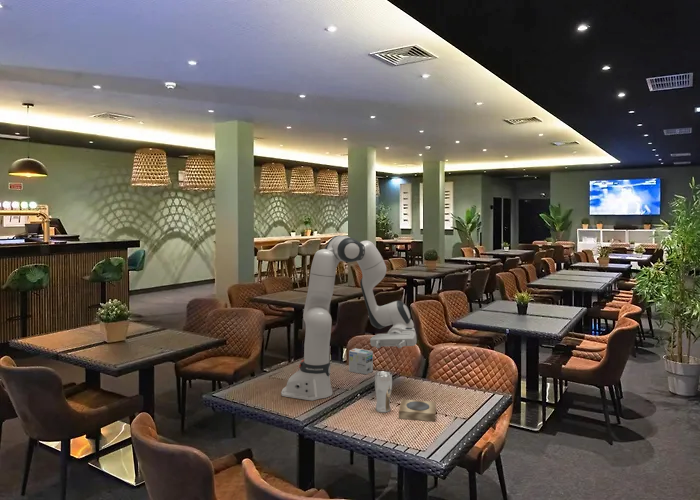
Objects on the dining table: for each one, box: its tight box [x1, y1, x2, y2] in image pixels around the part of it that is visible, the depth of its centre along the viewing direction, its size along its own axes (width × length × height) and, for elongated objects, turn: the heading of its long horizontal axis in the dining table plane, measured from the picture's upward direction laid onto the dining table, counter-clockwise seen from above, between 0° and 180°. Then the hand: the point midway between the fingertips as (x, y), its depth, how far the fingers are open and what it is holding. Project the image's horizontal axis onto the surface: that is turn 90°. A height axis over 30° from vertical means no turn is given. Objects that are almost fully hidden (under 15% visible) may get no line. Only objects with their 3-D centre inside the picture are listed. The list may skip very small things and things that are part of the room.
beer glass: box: [374, 370, 393, 414], centre depth 207 cm, size 7×7×15 cm
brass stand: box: [398, 398, 437, 422], centre depth 204 cm, size 14×13×3 cm
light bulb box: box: [348, 347, 374, 375], centre depth 258 cm, size 11×7×11 cm, turn 58°
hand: (388, 346), depth 217 cm, fingers open, 8 cm apart
